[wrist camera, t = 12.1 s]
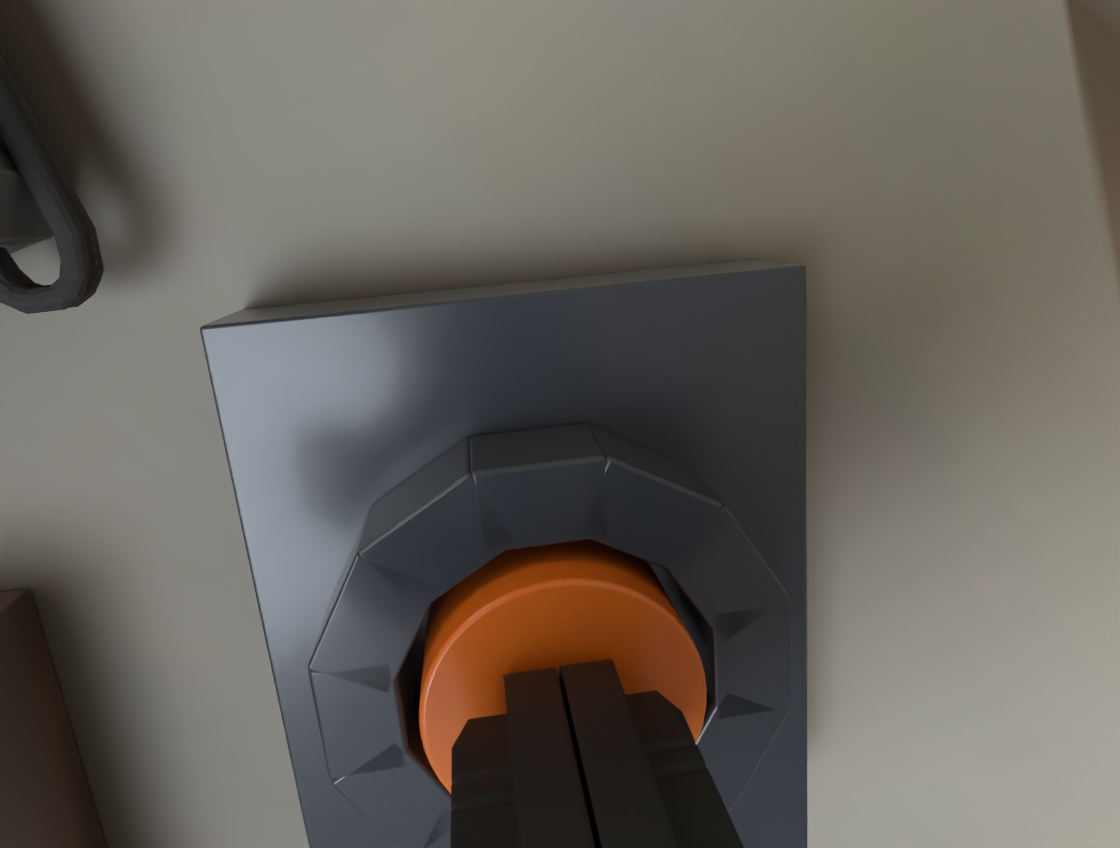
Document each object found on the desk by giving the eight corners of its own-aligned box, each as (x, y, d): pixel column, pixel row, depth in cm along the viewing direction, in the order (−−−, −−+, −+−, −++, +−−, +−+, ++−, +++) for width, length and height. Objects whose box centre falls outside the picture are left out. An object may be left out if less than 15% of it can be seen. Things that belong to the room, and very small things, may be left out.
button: (408, 539, 12) (398, 603, 10) (664, 506, 12) (703, 561, 10) (442, 761, 13) (439, 858, 11) (675, 724, 13) (714, 812, 11)
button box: (240, 309, 13) (148, 346, 9) (754, 258, 14) (866, 272, 10) (344, 842, 16) (307, 1039, 12) (764, 772, 17) (855, 935, 13)
